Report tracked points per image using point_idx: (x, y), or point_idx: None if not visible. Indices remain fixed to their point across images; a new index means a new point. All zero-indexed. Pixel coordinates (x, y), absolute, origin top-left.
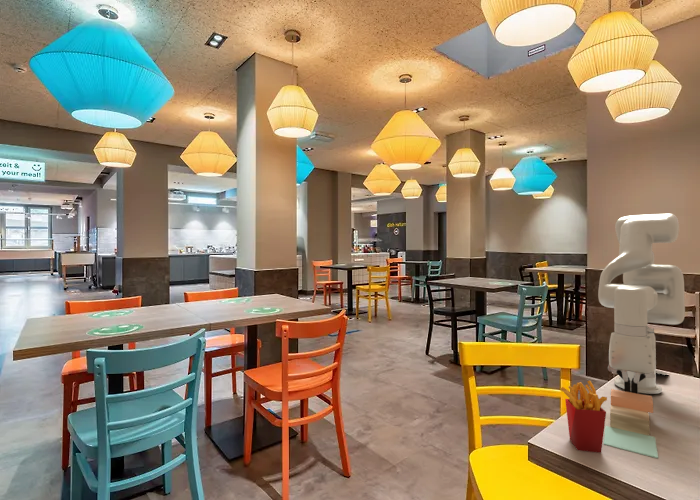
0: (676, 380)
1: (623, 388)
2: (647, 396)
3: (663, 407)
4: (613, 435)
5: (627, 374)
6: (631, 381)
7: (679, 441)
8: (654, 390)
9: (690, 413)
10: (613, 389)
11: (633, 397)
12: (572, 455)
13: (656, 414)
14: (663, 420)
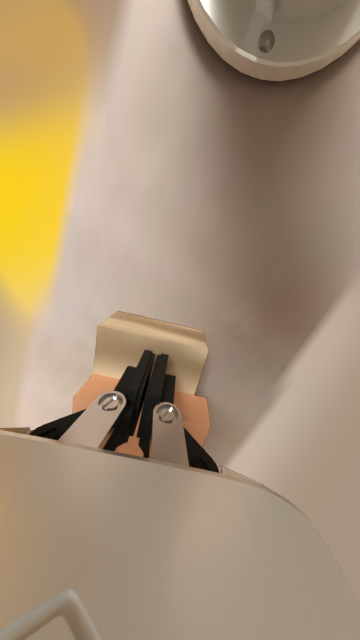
0: None
1: (200, 29)
2: (192, 433)
3: (282, 247)
4: None
5: (110, 433)
6: (142, 413)
7: (216, 449)
8: (349, 35)
9: (345, 274)
10: (81, 399)
11: (140, 455)
12: None
13: (230, 323)
14: (231, 360)
